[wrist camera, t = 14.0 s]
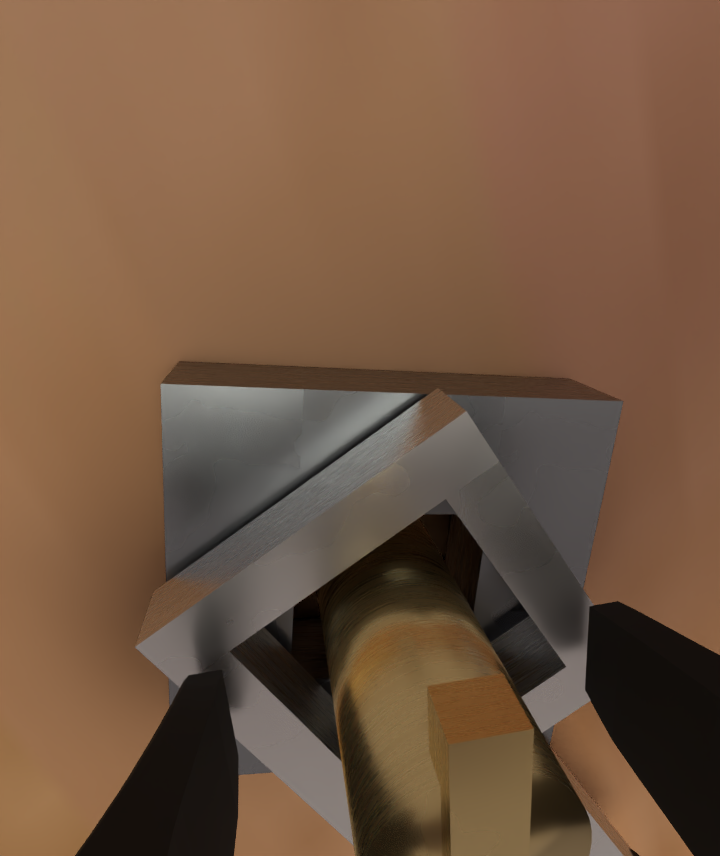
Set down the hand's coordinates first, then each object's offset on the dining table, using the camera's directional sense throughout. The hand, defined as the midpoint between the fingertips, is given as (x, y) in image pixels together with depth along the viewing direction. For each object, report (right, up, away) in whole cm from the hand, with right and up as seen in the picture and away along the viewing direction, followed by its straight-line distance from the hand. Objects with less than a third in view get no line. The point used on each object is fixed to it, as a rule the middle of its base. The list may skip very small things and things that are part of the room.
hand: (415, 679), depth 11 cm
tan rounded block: (-1, +2, +5) cm, 5 cm away
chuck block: (-1, +2, +5) cm, 5 cm away
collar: (+2, -3, +4) cm, 6 cm away
